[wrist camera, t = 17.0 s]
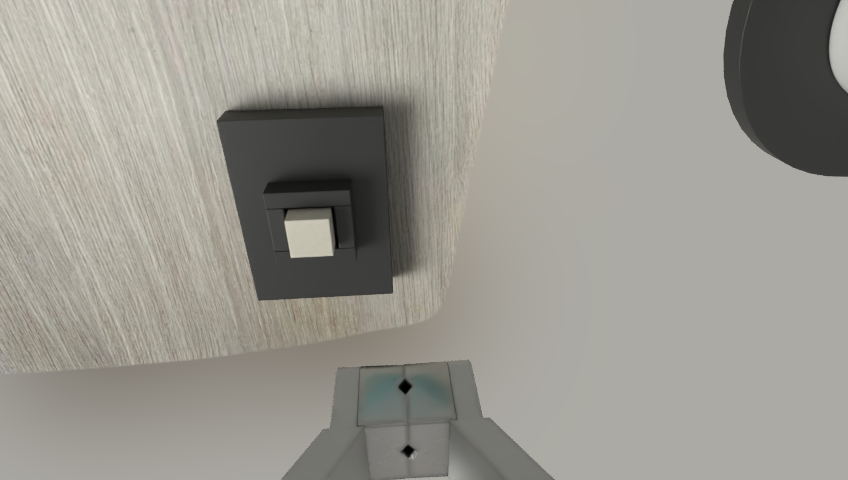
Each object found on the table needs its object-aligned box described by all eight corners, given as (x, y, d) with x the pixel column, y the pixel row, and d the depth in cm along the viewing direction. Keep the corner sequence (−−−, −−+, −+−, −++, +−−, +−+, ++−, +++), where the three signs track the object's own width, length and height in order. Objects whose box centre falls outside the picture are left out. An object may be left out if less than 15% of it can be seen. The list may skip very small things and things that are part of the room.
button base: (383, 106, 35) (383, 124, 32) (392, 278, 43) (393, 307, 40) (225, 111, 35) (207, 130, 31) (263, 284, 42) (253, 315, 39)
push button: (331, 206, 35) (329, 218, 34) (335, 243, 37) (333, 256, 35) (288, 208, 35) (284, 220, 33) (294, 245, 36) (290, 258, 35)
